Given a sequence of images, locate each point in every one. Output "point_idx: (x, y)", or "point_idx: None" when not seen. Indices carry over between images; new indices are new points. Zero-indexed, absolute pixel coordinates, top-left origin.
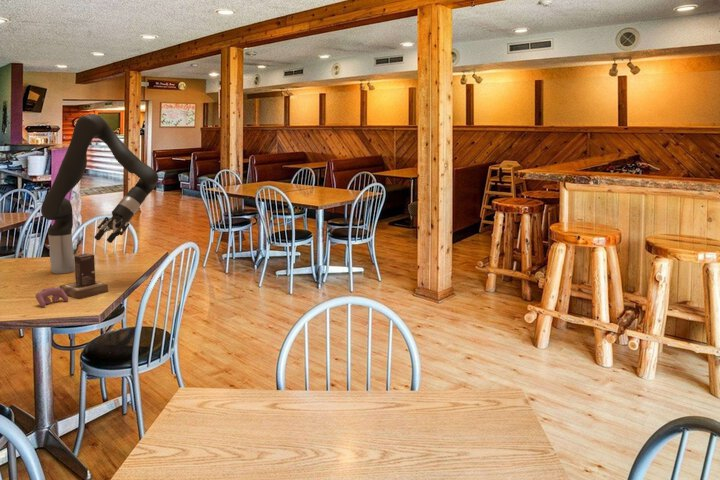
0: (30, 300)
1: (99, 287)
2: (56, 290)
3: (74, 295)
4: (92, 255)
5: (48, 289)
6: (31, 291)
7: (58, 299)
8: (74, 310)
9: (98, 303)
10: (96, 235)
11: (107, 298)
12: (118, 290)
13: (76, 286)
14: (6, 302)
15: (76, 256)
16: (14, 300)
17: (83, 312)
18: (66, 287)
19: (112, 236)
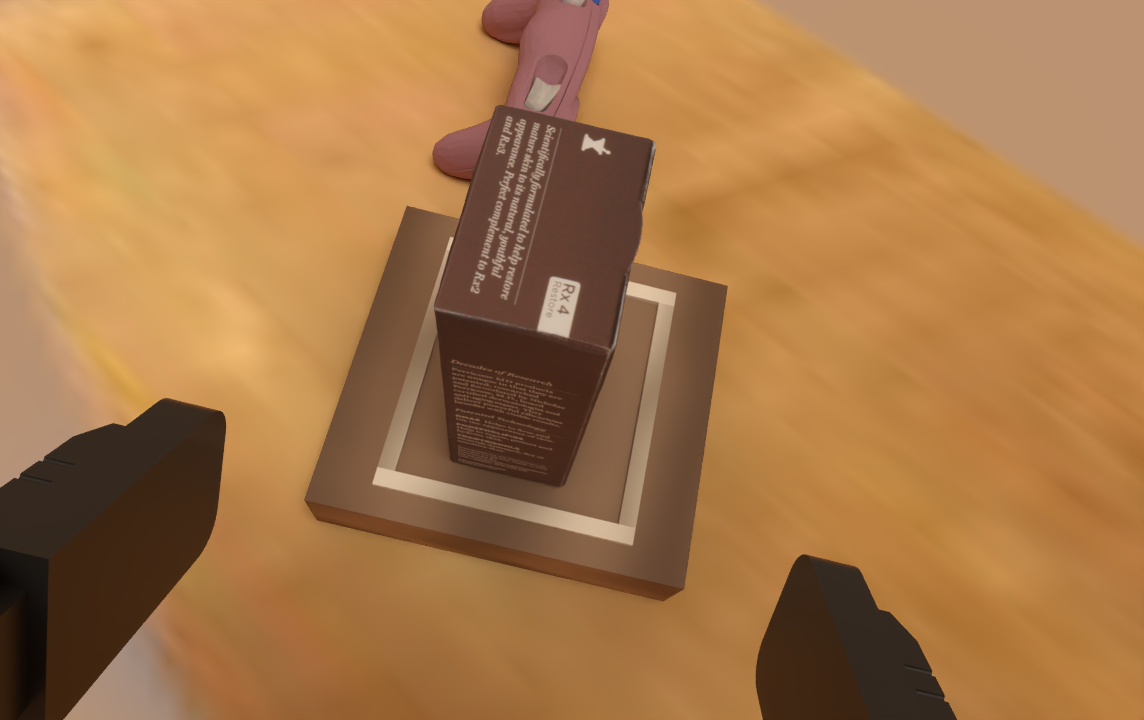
0: (732, 118)
1: (339, 408)
2: (516, 72)
3: None
4: (442, 281)
5: (543, 12)
6: (959, 282)
7: None
8: (216, 35)
9: (145, 205)
10: (822, 588)
11: (163, 339)
12: (239, 604)
13: None
14: (830, 47)
15: (594, 128)
16: (830, 89)
17: (111, 19)
18: None
19: (6, 491)
